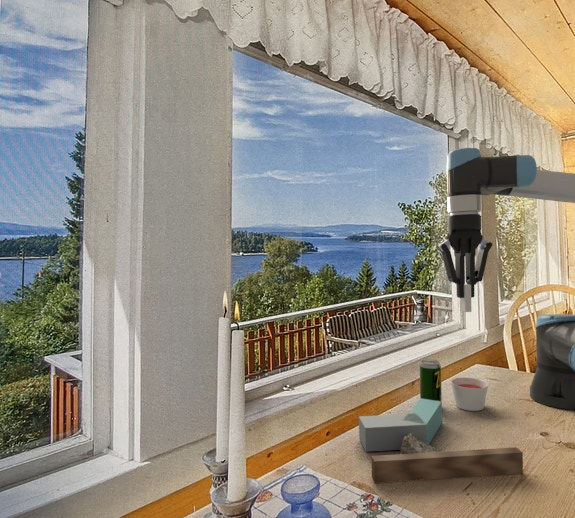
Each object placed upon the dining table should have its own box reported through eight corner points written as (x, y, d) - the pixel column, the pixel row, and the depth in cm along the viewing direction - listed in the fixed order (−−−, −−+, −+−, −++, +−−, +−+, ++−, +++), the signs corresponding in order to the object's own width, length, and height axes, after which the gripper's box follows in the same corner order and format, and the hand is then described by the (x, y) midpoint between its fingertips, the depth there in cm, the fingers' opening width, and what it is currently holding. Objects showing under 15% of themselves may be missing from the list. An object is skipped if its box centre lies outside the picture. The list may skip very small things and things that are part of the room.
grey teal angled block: (437, 417, 106) (436, 397, 105) (465, 445, 91) (465, 422, 91) (351, 422, 104) (350, 401, 104) (365, 451, 89) (365, 427, 89)
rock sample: (452, 460, 78) (419, 419, 83) (419, 486, 78) (388, 444, 83) (457, 460, 86) (427, 423, 91) (428, 484, 87) (399, 445, 92)
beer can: (418, 408, 112) (417, 363, 112) (422, 401, 117) (421, 358, 116) (440, 412, 109) (439, 365, 109) (443, 404, 114) (442, 360, 114)
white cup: (489, 403, 115) (489, 379, 114) (487, 415, 107) (487, 390, 106) (453, 398, 119) (453, 375, 119) (449, 409, 111) (448, 385, 111)
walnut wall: (516, 467, 82) (516, 447, 82) (523, 473, 80) (522, 452, 80) (371, 477, 80) (371, 456, 80) (374, 482, 78) (374, 461, 78)
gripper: (482, 214, 108) (483, 307, 109) (431, 216, 107) (433, 309, 108) (498, 212, 100) (500, 312, 101) (444, 213, 100) (446, 314, 100)
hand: (465, 311), depth 105 cm, fingers closed
